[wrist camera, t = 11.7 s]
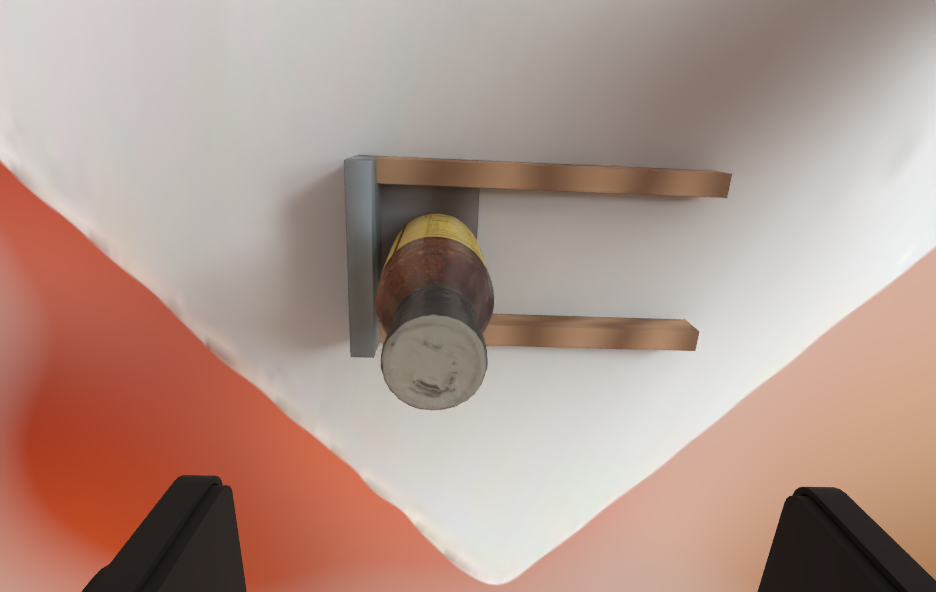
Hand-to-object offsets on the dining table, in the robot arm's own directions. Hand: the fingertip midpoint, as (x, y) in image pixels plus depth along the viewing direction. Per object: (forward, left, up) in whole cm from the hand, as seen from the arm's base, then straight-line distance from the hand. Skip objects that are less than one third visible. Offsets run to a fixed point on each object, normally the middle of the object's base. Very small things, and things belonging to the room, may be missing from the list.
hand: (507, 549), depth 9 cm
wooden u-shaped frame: (-6, +2, -30) cm, 31 cm away
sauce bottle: (+2, +2, -30) cm, 30 cm away
